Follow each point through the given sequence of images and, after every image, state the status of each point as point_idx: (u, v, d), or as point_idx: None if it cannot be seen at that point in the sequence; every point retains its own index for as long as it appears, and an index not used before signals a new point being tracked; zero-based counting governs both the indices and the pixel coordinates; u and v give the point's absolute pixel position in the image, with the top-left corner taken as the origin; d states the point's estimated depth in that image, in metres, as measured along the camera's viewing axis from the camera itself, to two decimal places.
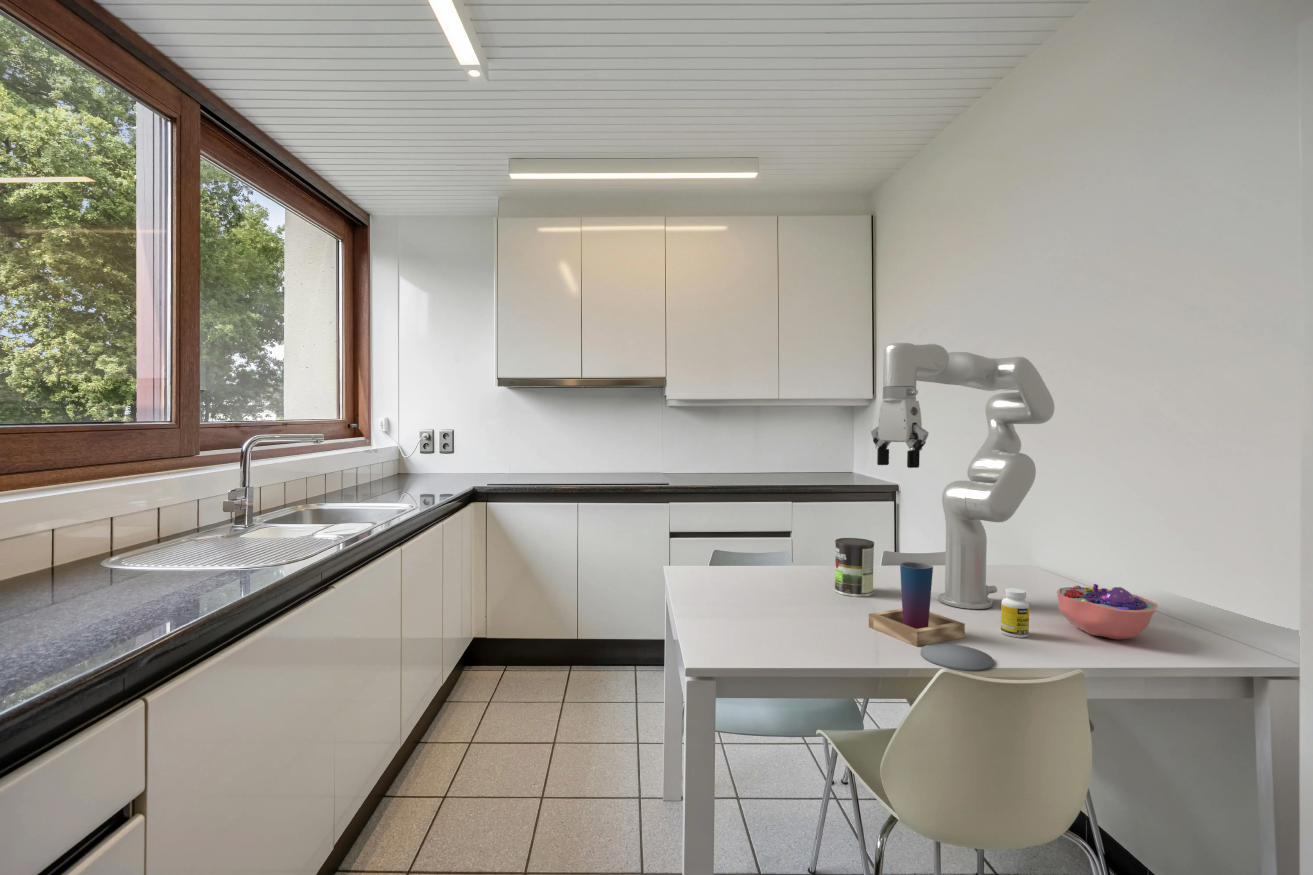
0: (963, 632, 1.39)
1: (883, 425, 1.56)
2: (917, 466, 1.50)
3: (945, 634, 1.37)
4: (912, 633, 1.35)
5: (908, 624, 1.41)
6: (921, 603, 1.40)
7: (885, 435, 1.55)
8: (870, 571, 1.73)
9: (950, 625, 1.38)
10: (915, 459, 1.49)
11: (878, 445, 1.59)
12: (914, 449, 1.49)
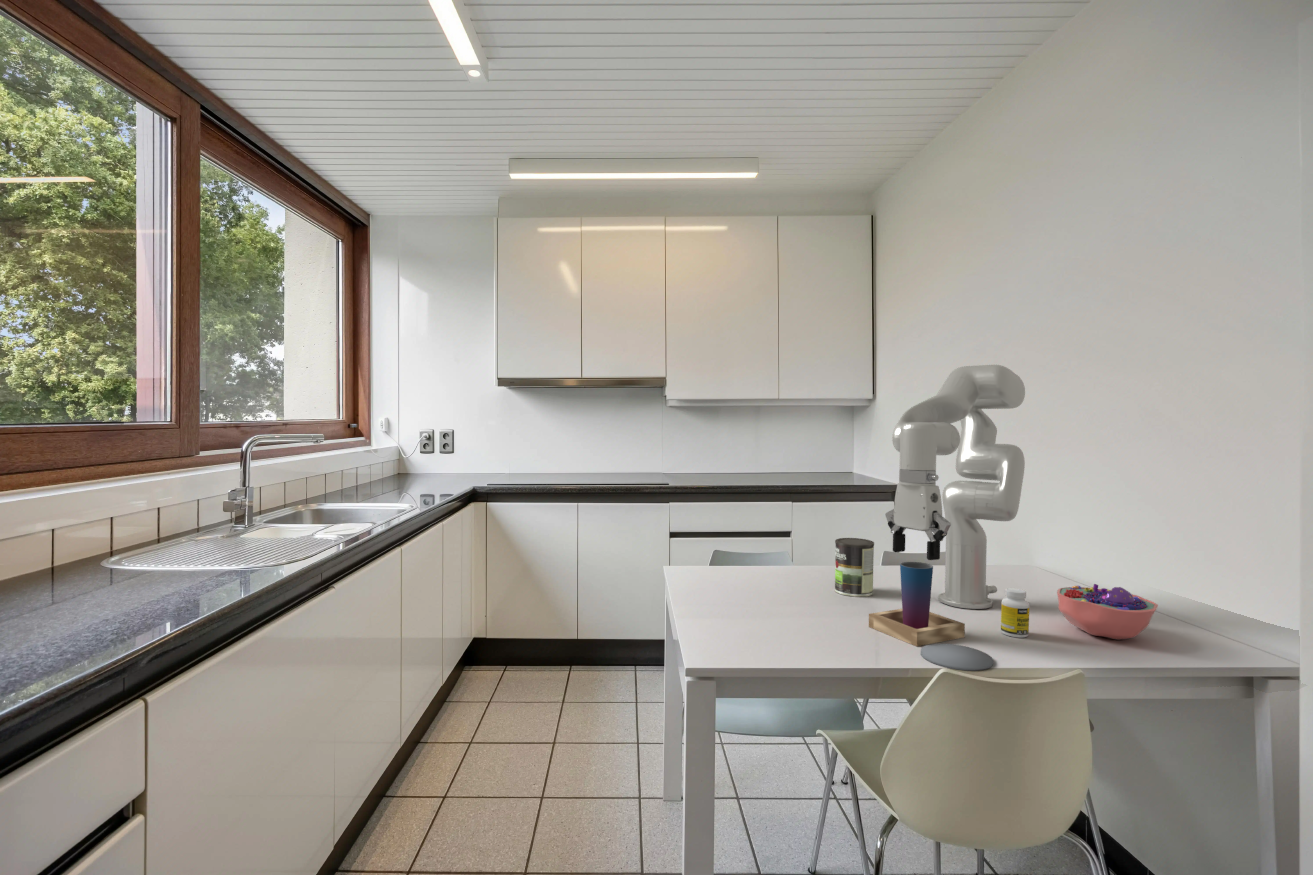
0: (963, 632, 1.39)
1: (900, 510, 1.43)
2: (937, 558, 1.38)
3: (945, 634, 1.37)
4: (912, 633, 1.35)
5: (908, 624, 1.41)
6: (921, 603, 1.40)
7: (902, 521, 1.43)
8: (870, 571, 1.73)
9: (950, 625, 1.38)
10: (936, 551, 1.37)
11: (894, 530, 1.46)
12: (935, 540, 1.36)
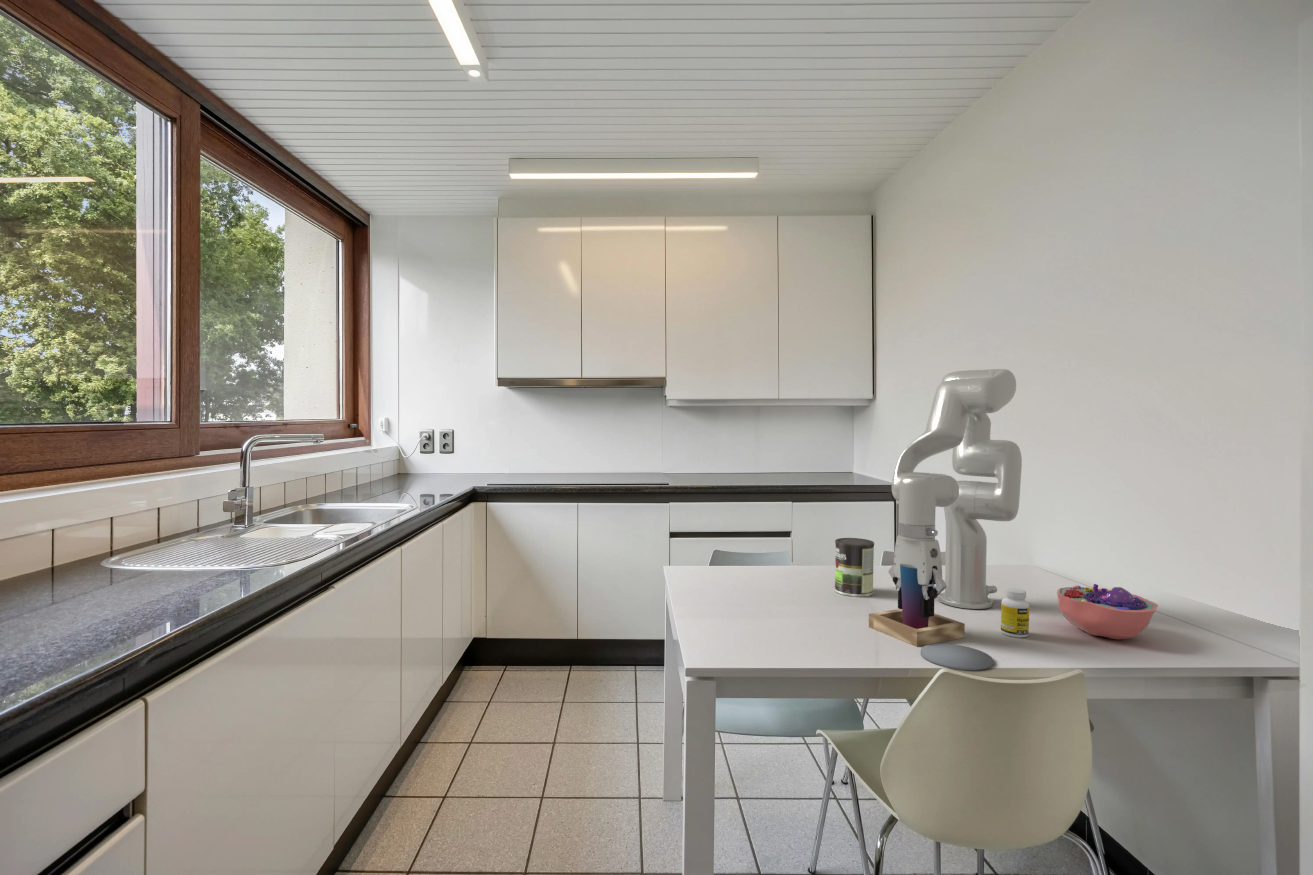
0: (963, 632, 1.39)
1: (899, 562, 1.44)
2: (932, 614, 1.40)
3: (945, 634, 1.37)
4: (912, 633, 1.35)
5: (908, 624, 1.41)
6: None
7: None
8: (870, 571, 1.73)
9: (950, 625, 1.38)
10: (930, 608, 1.39)
11: (899, 587, 1.45)
12: (929, 598, 1.38)
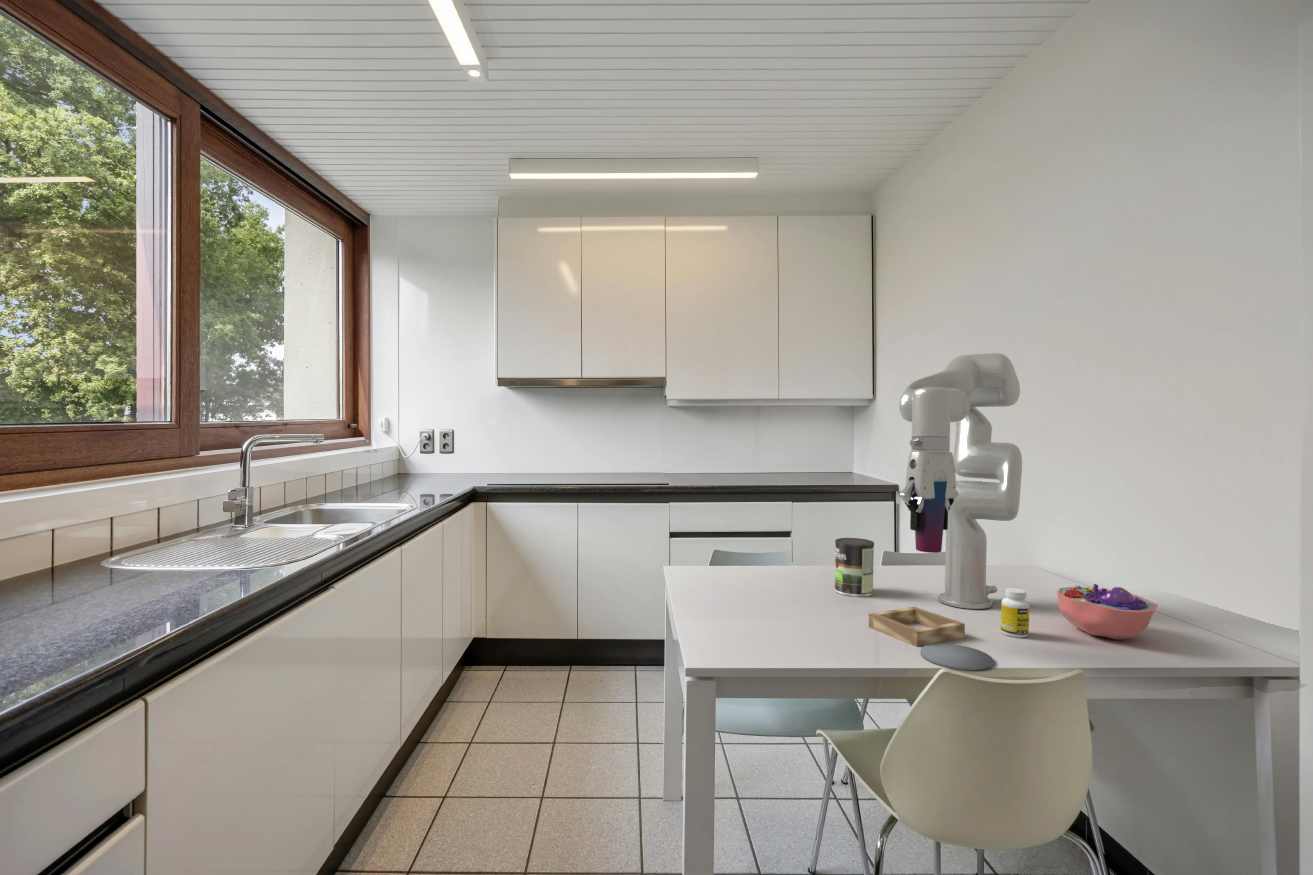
0: (963, 632, 1.39)
1: None
2: (919, 530, 1.35)
3: (945, 634, 1.37)
4: (912, 633, 1.35)
5: None
6: None
7: None
8: (870, 571, 1.73)
9: (950, 625, 1.38)
10: (912, 521, 1.36)
11: None
12: (909, 510, 1.36)
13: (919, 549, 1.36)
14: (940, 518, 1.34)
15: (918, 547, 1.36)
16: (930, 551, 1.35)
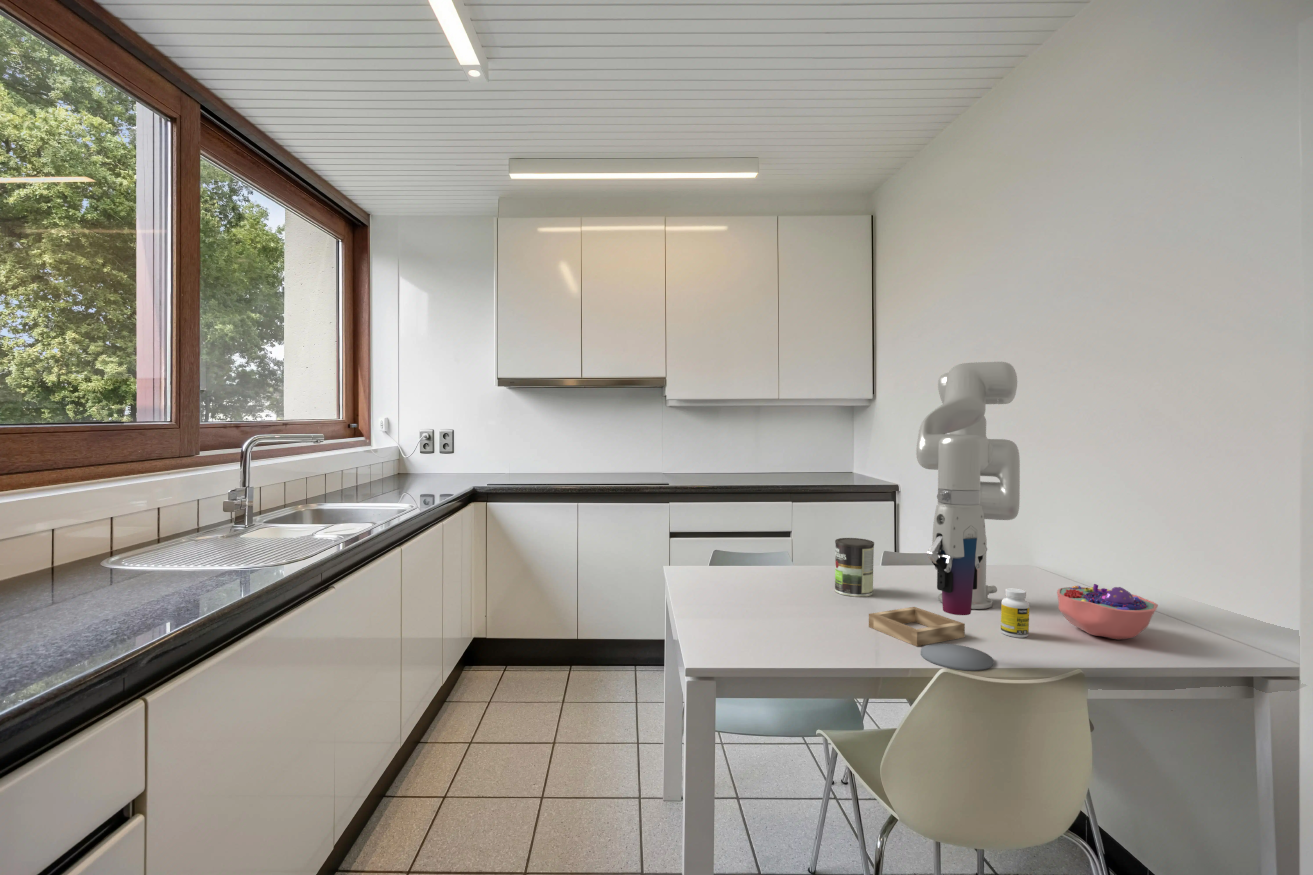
0: (963, 632, 1.39)
1: None
2: (948, 591, 1.24)
3: (945, 634, 1.37)
4: (912, 633, 1.35)
5: None
6: None
7: None
8: (870, 571, 1.73)
9: (950, 625, 1.38)
10: (939, 581, 1.25)
11: None
12: (936, 568, 1.26)
13: (947, 611, 1.26)
14: (970, 578, 1.24)
15: (946, 608, 1.26)
16: (959, 613, 1.24)
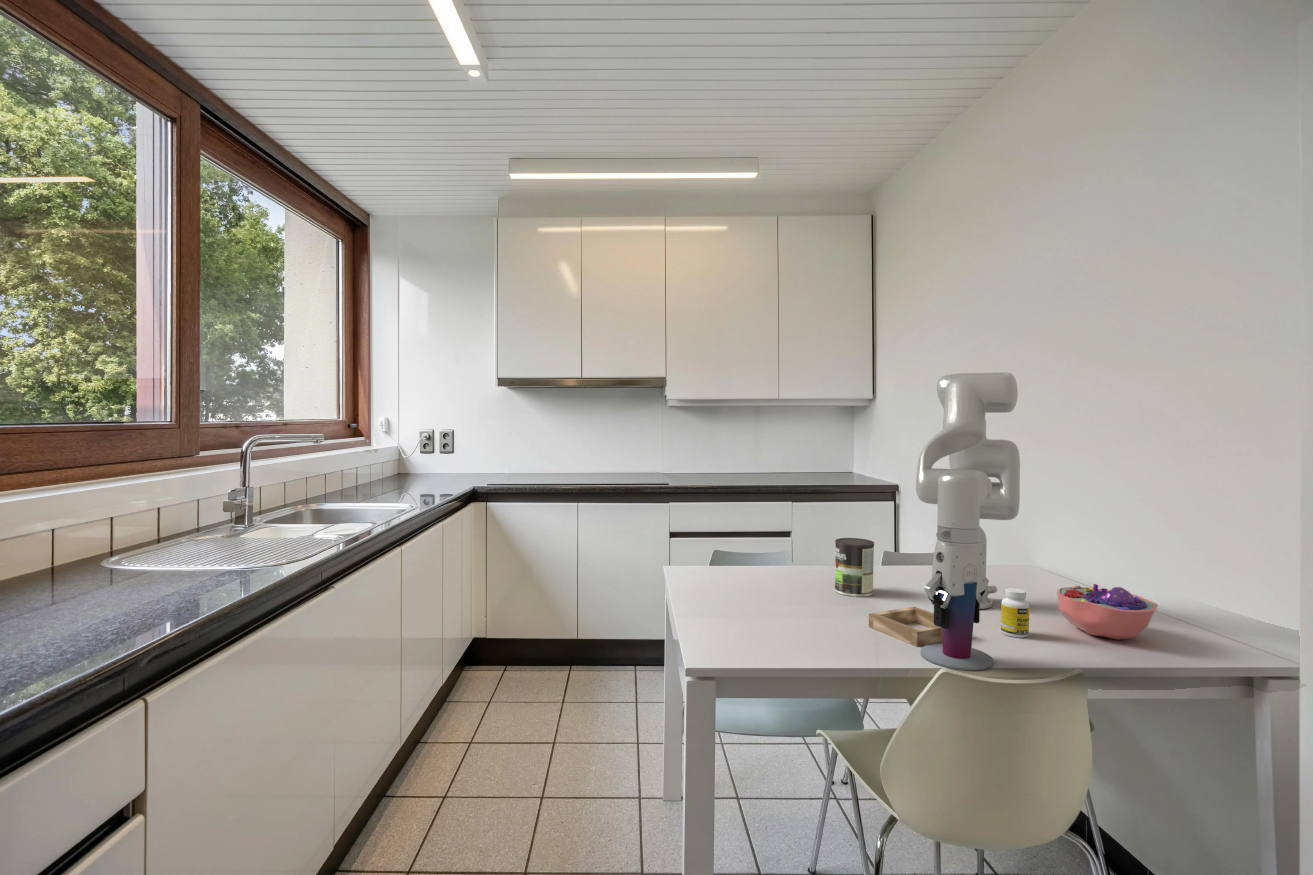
0: None
1: None
2: (944, 627, 1.24)
3: None
4: (912, 633, 1.35)
5: None
6: None
7: None
8: (870, 571, 1.73)
9: None
10: (936, 616, 1.25)
11: None
12: (933, 604, 1.26)
13: (947, 654, 1.26)
14: (970, 622, 1.25)
15: (945, 651, 1.27)
16: (959, 657, 1.25)
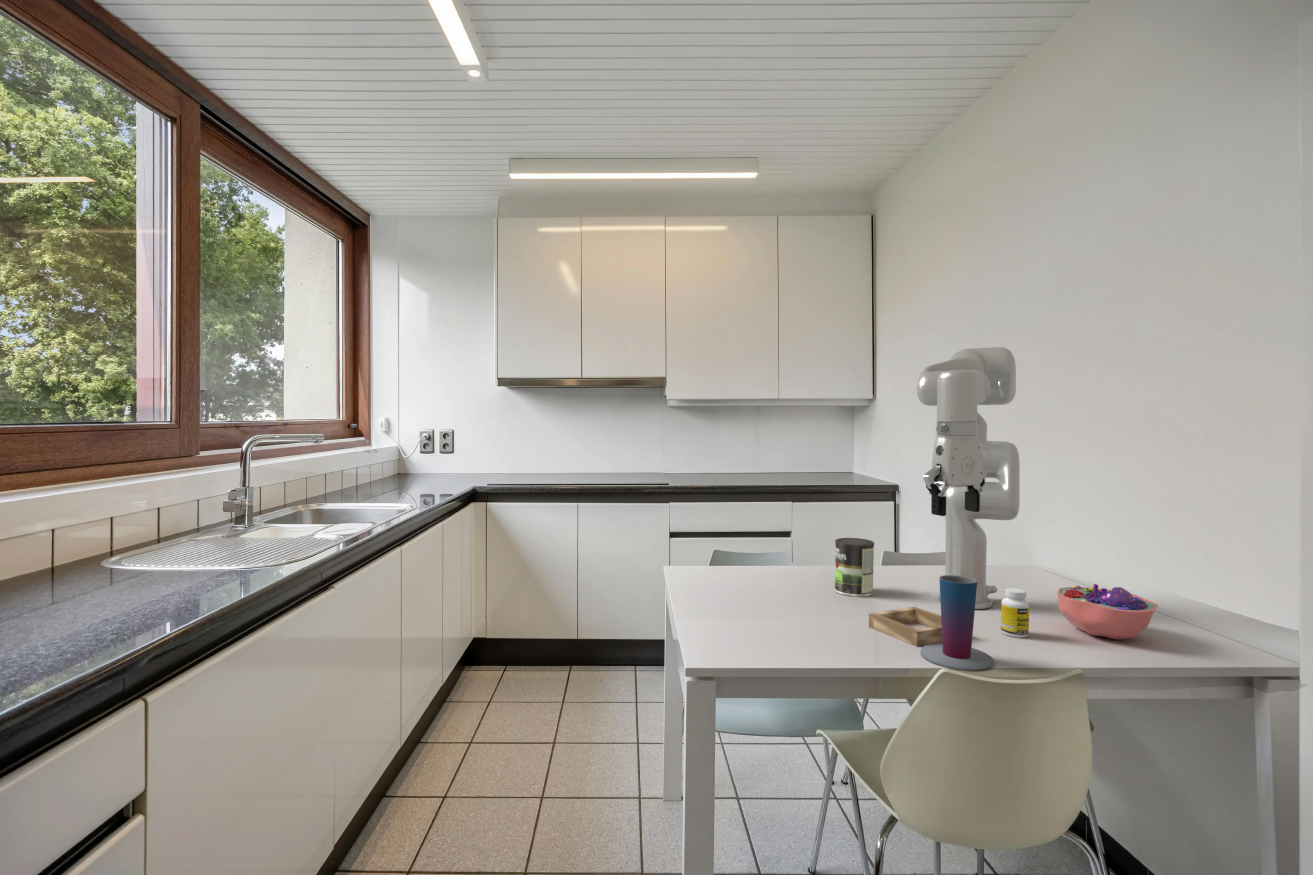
0: None
1: None
2: (941, 514, 1.30)
3: None
4: (912, 633, 1.35)
5: None
6: (942, 617, 1.27)
7: None
8: (870, 571, 1.73)
9: None
10: (934, 505, 1.31)
11: None
12: (931, 494, 1.31)
13: (947, 653, 1.27)
14: (970, 622, 1.25)
15: (945, 651, 1.27)
16: (959, 657, 1.25)
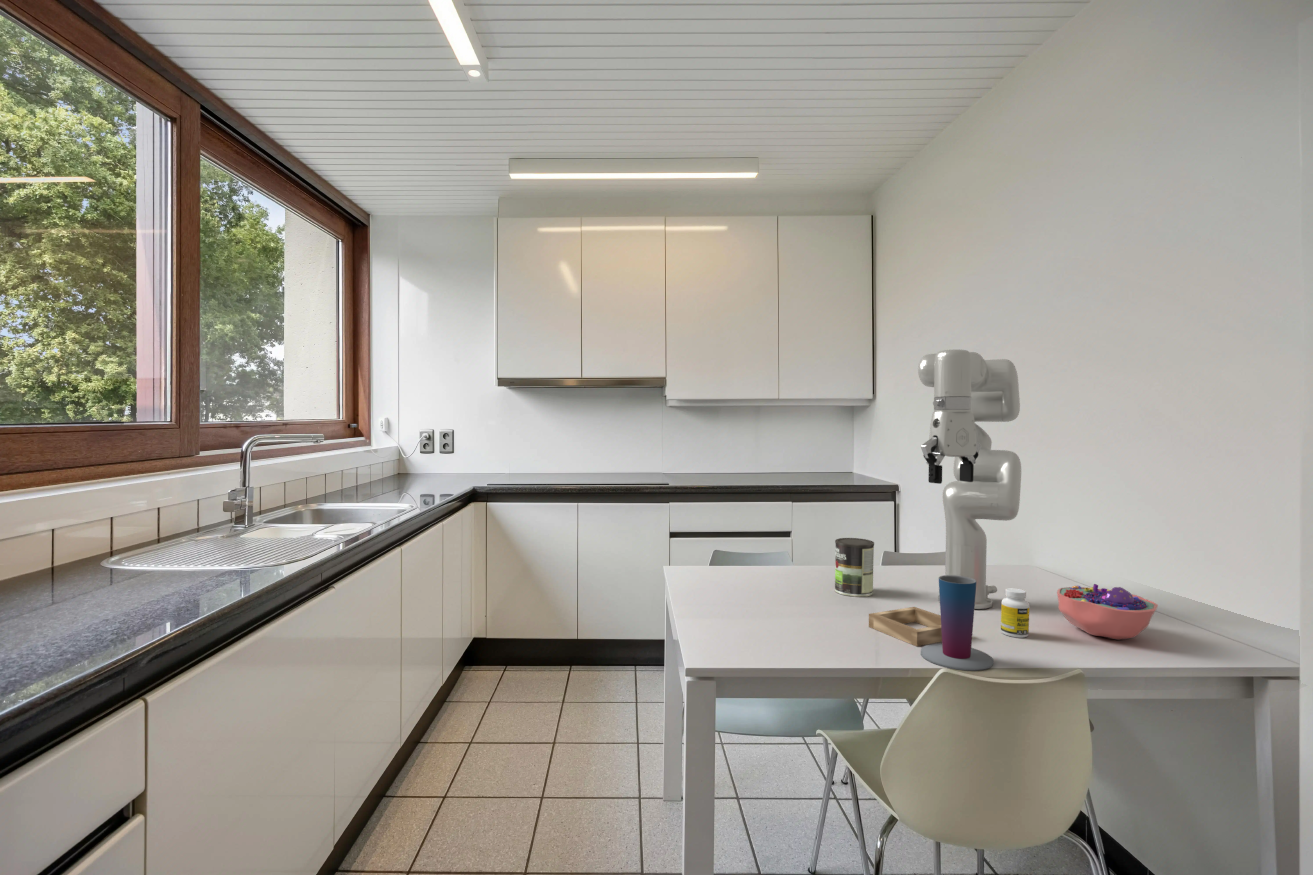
0: None
1: None
2: (938, 482, 1.41)
3: None
4: (912, 633, 1.35)
5: None
6: (942, 618, 1.27)
7: None
8: (870, 571, 1.73)
9: None
10: (930, 474, 1.41)
11: None
12: (928, 463, 1.42)
13: (946, 654, 1.27)
14: (969, 622, 1.25)
15: (945, 651, 1.27)
16: (959, 657, 1.25)
